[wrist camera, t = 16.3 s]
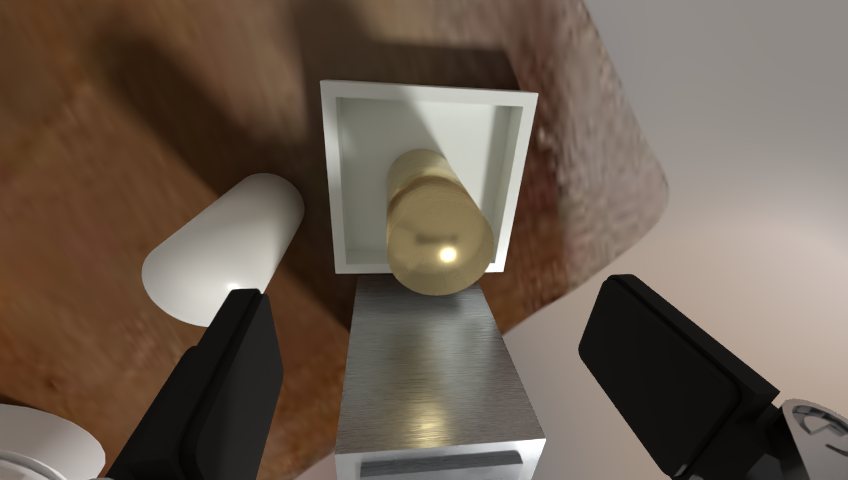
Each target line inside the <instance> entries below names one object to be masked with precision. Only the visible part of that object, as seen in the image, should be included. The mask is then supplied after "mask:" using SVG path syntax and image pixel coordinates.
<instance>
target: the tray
mask: <svg viewBox="0 0 848 480" xmlns="http://www.w3.org/2000/svg"><path fill="white" fill-rule="evenodd" d="M320 87H321V99H322V112H323V124H324V136H325V149H326V161H327V173H328V186H329V198H330V210H331V223H332V235H333V247H334V260H335V272H336V274H348V273H392V271H391V269H390V267H389V264H388V260H387V219H386V178H387V174H388V171H389V168H390V166H391V165H392V163H393V162H394V161H395V160H396V159H397V158H398V157H399V156H400V155H402V154H403V153H405V152H407V151H410V150H414V149H428V150H432V151H435V152H437V153H438V154H440V155H441V156H443V157H444V158H445V159H446V160H447V162H448V163H449V165H450V166H451V168H452V169H453V171H454V172H455V174H456V175H457V177H458V178H459V180H460V181H461V183H462V184H463V186H464V187H465V188H466V190H467V191H468V193H469V194H470V196H471V197H472V199H473V200H474V202H475V203H476V205H477V206H478V208H479V209H480V211H481V212H482V214H483V215H484V217H485V218H486V220H487V221H488V223H489V225H490V227H491V229H492V232H493V236H494V253H493V257H492V260H491V262H490V264H489V266H488V268H487V269H486V271H485V272H503V269H504V264H505V259H506V254H507V249H508V244H509V239H510V234H511V229H512V224H513V219H514V214H515V209H516V204H517V199H518V194H519V189H520V184H521V179H522V174H523V168H524V163H525V158H526V153H527V148H528V143H529V138H530V133H531V128H532V123H533V118H534V113H535V108H536V103H537V98H538V93H533V92H527V91H520V90H503V89H485V88H468V87H451V86H434V85H416V84H399V83H382V82H365V81H347V80H330V79H327V80H322V81H320Z"/></svg>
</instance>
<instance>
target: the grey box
mask: <svg viewBox="0 0 848 480" xmlns="http://www.w3.org/2000/svg"><path fill="white" fill-rule="evenodd" d="M545 441H546V437H545V435H544V432H543V430H542V428H541V425H540V423H539V421H538V419H537V416H536V414H535V412H534V410H533V407H532V405H531V403H530V401H529V398H528V396H527V394H526V391H525V389H524V387H523V384H522V382H521V380H520V377H519V375H518V373H517V370H516V368H515V366H514V364H513V362H512V359H511V357H510V355H509V352H508V350H507V347H506V345H505V343H504V341H503V338H502V336H501V334H500V331H499V329H498V327H497V325H496V322H495V320H494V318H493V315H492V313H491V311H490V308H489V306H488V304H487V302H486V299H485V297H484V295H483V292H482V290H481V288H480V286H479V283H478V281H476V282H474V283H473V284H472V285H470V286H469V287H467V288H465V289H463V290H461V291H458V292H455V293H452V294H447V295H439V296H434V295H425V294H421V293H418V292H415V291H412V290H411V289H409V288H407V287H406V286H404V285H403V284H402V283H400V282H399V281H398V280H397V278H396V277H395V276H394V275H358V279H357V287H356V294H355V302H354V310H353V317H352V325H351V333H350V340H349V348H348V356H347V363H346V371H345V379H344V386H343V394H342V402H341V410H340V417H339V425H338V433H337V440H336V448H335V462H336V471H337V479H338V480H531V478H532V475H533V473H534V470H535V467H536V464H537V462H538V459H539V457H540V454H541V451H542V448H543V446H544V443H545Z"/></svg>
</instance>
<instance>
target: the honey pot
mask: <svg viewBox="0 0 848 480" xmlns="http://www.w3.org/2000/svg"><path fill="white" fill-rule="evenodd" d="M104 465H105V453H104V451H103V449H102V447H101V445H100V443H99V442H98V441H97V440H96V439H95V438H94V437H93V436H92V435H91V434H90V433H89V432H87V431H85V430H84V429H82V428H81V427H79V426H77V425H76V424H74V423H73V422H70V421H68V420H66V419H63V418H61V417H58V416H56V415H54V414H51V413H47V412H43V411H40V410H36V409H32V408H28V407H21V406H14V405H6V404H0V480H89V479H92V478H96V477H97V476H98V474H99V473H100V471H101V470H102V468H103V466H104Z"/></svg>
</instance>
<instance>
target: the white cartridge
mask: <svg viewBox="0 0 848 480" xmlns="http://www.w3.org/2000/svg"><path fill="white" fill-rule="evenodd" d="M304 212H305V206H304V202H303V199H302V196H301V194H300V193H299V191H298V190H297V189H296V188H295V186H294V185H292V184H291V183H290V182H289V181H287V180H286V179H284V178H282V177H280V176H277V175H274V174H270V173H257V174H253V175H250V176H248V177H246V178H244V179H243V180H242V181H240V182H239V183H238V184H237V185H235V186H234V187H233V188H232V189H230V190H229V191H228V192H226V193H225V194H224V195H223V196H221V197H220V198H219V199H218V200H216V201H215V202H214V203H212V204H211V205H210V206H209V207H207V208H206V209H205V210H204V211H202V212H201V213H200V214H198V215H197V216H196V217H195V218H193V219H192V220H191V221H190V222H188V223H187V224H186V225H184V226H183V227H182V228H181V229H179V230H178V231H177V232H176V233H174V234H173V235H172V236H170V237H169V238H168V239H167V240H165V241H164V242H163V243H162V244H160V245H159V246H158V247H156V248H155V249H154V250H153V251H152V252H151V253H150V254H149V255H148V256H147V258H146V259H145V261H144V264H143V267H142V281H143V284H144V287H145V289H146V291H147V293H148V295H149V296H150V298H151V299H152V300H153V301H154V302H155V303H156V304H157V305H158V306H159V307H160V308H161V309H162V310H164V311H165V312H166V313H168V314H170V315H171V316H173V317H175V318H177V319H179V320H181V321H184V322H187V323H190V324H194V325H199V326H206V327H209V325H210V323H211V322H212V320H213V318H214V317H215V315H216V314H217V312H218V310H219V309H220V307H221V305H222V304H223V302H224V301H225V299H226V297H227V296H228V294H229V293H230V291H231V290H233V289H249V288H258V289H259V290H260V292H261V294H263V292H264V290H265V289H266V287H267V285H268V283H269V281H270V279H271V277H272V276H273V274H274V272H275V270H276V268H277V266H278V264H279V263H280V261H281V259H282V257H283V255H284V253H285V252H286V250H287V248H288V246H289V244H290V242H291V240H292V239H293V237H294V235H295V233H296V231H297V229H298V227H299V226H300V224H301V222H302V220H303V217H304Z"/></svg>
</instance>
